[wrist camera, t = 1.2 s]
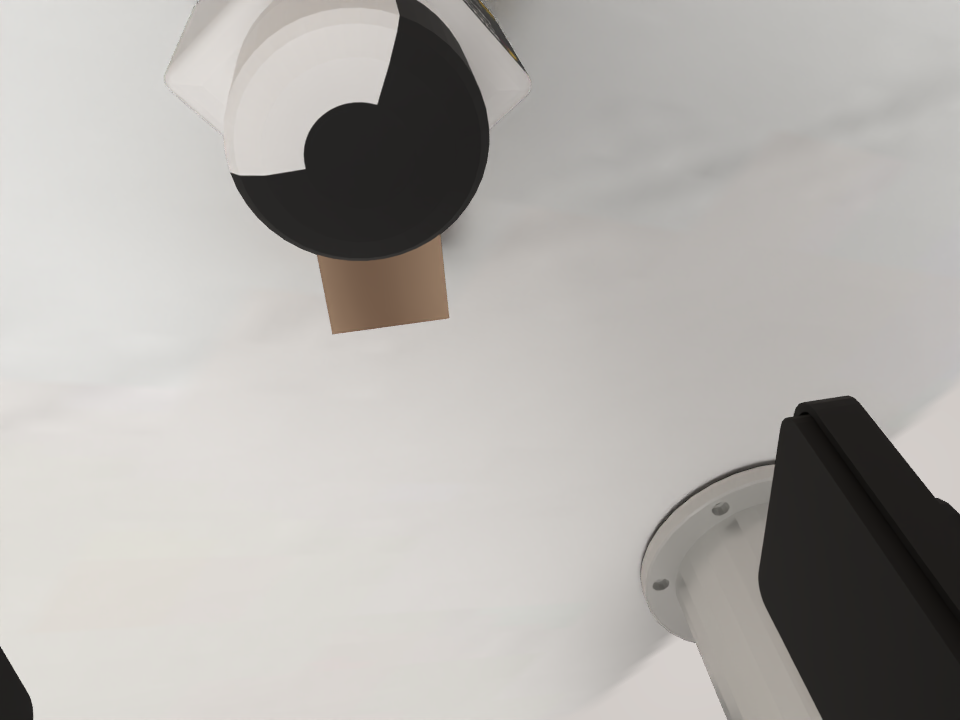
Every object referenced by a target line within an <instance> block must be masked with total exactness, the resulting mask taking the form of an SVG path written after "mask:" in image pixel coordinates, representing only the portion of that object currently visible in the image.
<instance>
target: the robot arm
mask: <svg viewBox="0 0 960 720" xmlns="http://www.w3.org/2000/svg"><path fill="white" fill-rule="evenodd" d="M641 583H642V589H643V594H644V596H645V599H646V601H647V604H648V606H649V609H650V611H651V613H652V614H653V616H654V617H655V619H656V620H657V621H658V623H659V624H660V625H661V626H663V627H664V628H665V629H666V630H668V631H669V632H670V633H672V634H674V635H676V636H678V637H680V638H682V639H684V640H687V641H690V642H694V643H696V644H697V647H698V649H699V652H700V654H701V656H702V659H703V661H704V664H705V666H706V669H707V671H708V674H709V676H710V679H711V681H712V683H713V686H714V688H715V690H716V693H717V696H718V698H719V700H720V703H721V705H722V708H723V710H724V712H725V715H726V717H727V720H960V514H959V513H958V512H957V511H956V510H955V509H954V508H953V507H952V506H951V505H949V503H947V502H945V501H943V500H941V499H939V498H935V497H934V496H933V495H932V493H931V492H930V491H929V490H928V489H927V487H926V486H925V485H924V483H923V482H922V481H921V480H920V478H919V477H918V476H917V475H916V473H915V472H914V471H913V469H912V468H911V467H910V466H909V464H908V463H907V462H906V461H905V459H904V458H903V457H902V456H901V454H900V453H899V452H898V451H897V449H896V448H895V447H894V446H893V444H892V443H891V442H890V441H889V439H888V438H887V437H886V436H885V434H884V433H883V432H882V431H881V429H880V428H879V427H878V426H877V424H876V423H875V422H874V421H873V419H872V418H871V417H870V415H869V414H868V413H867V412H866V410H865V409H864V408H863V407H862V405H861V404H860V403H859V402H858V401H857V400H856V399H855V398H853V397H851V396H842V397H835V398H829V399H822V400H816V401H809V402H803V403H800V404H799V405H798V406H797V407H796V409H795V413H794V416H793V417H788V418H785V419H784V420H783V421H782V424H781V428H780V434H779V441H778V447H777V454H776V461H775V464H773V465H767V466H760V467H756V468H753V469H750V470H746V471H743V472H740V473H736V474H734V475H732V476H729V477H727V478H725V479H723V480H720V481H718V482H716V483H714V484H712V485H710V486H709V487H707V488H705V489H704V490H702V491H700V492H699V493H697V494H695V495H694V496H692V497H691V498H690V499H689V500H687V501H686V502H685V503H684V504H683V505H681V506H680V507H679V508H678V509H676V510H675V511H674V512H673V513H672V514H671V515H670V516H669V518H668V519H667V520H666V521H665V522H664V523H663V524H662V525H661V527H660V528H659V529H658V531H657V532H656V534H655V535H654V537H653V539H652V540H651V542H650V544H649V545H648V548H647V551H646V553H645V556H644V559H643V562H642V570H641ZM0 720H33V707H32V702H31V699H30V696H29V694H28V693H27V691H26V689H25V687H24V686H23V684H22V682H21V681H20V679H19V677H18V676H17V674H16V672H15V671H14V669H13V667H12V665H11V664H10V662H9V660H8V659H7V657H6V655H5V654H4V652H3V650H2V649H1V647H0Z"/></svg>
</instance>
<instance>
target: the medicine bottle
mask: <svg viewBox="0 0 960 720" xmlns="http://www.w3.org/2000/svg"><path fill="white" fill-rule="evenodd" d="M164 81H165V84H166V86H167V87H168V89H169V90H170V91H171V92H172V93H173V94H175V95H176V96H177V97H178V98H179V99H180V100H181V101H183V102H184V103H185V104H186V105H187V106H188V107H190V108H191V109H192V110H193V111H194V112H195V113H197V114H198V115H199V116H200V117H201V118H202V119H204V120H205V121H206V122H207V123H208V124H209V125H210V126H212V127H213V128H214V129H215V130H216V131H217V132H219V133H220V134H221V135H222V136H223V138H224V147H225V155H226V159H227V163H228V166H229V170H230V173H231V175H232V178H233V180H234V182H235V185H236V187H237V189H238V191H239V192H240V194H241V196H242V197H243V199H244V201H245V202H246V204H247V205H248V206H249V208H250V209H251V210H252V211H253V213H254V214H255V215H256V216H257V217H258V218H259V219H260V220H261V221H262V222H263V223H264V224H265V225H266V226H267V227H268V228H269V229H270V230H272V231H273V232H274V233H276V234H277V235H279V236H280V237H281V238H283V239H284V240H286V241H288V242H290V243H291V244H293V245H295V246H297V247H299V248H301V249H303V250H306V251H309V252H311V253H314V254H316V255H320V256H324V257H328V258H332V259H339V260H347V261H371V260H379V259H386V258H390V257H394V256H398V255H401V254H404V253H407V252H409V251H412V250H414V249H417V248H419V247H420V246H422V245H424V244H426V243H428V242H430V241H431V240H433V239H434V238H436V237H437V236H438V235H440V234H441V233H442V232H444V231H445V230H446V229H447V228H448V227H449V226H450V225H452V224H453V223H454V222H455V221H456V220H457V219H458V217H459V216H460V215H461V214H462V213H463V211H464V210H465V209H466V208H467V206H468V205H469V203H470V201H471V200H472V198H473V196H474V195H475V193H476V191H477V189H478V187H479V184H480V182H481V180H482V177H483V174H484V170H485V167H486V163H487V158H488V150H489V130H490V129H491V128H492V127H493V126H494V125H495V124H496V123H497V122H499V121H500V120H501V119H502V118H503V117H504V116H505V115H506V114H507V113H508V112H510V111H511V110H512V109H513V108H514V107H515V106H516V105H517V104H518V103H519V102H521V101H522V100H523V99H524V98H525V97H526V96H527V95H528V93H529V92H530V90H531V80H530V78H529V76H528V74H527V72H526V71H525V69H524V67H523V66H522V64H521V62H520V61H519V59H518V57H517V56H516V54H515V52H514V51H513V49H512V47H511V45H510V44H509V42H508V40H507V39H506V37H505V35H504V34H503V32H502V30H501V29H500V27H499V25H498V24H497V22H496V20H495V19H494V17H493V15H492V14H491V13H490V12H489V11H488V10H487V8H486V7H485V6H484V5H483V4H482V3H481V1H480V0H200V1H199V2H198V3H197V4H196V5H195V7H194V8H193V10H192V12H191V15H190V17H189V19H188V21H187V24H186V26H185V28H184V31H183V33H182V35H181V37H180V40H179V42H178V44H177V47H176V49H175V51H174V53H173V56H172V58H171V60H170V63H169V65H168V67H167V69H166V72H165V74H164Z"/></svg>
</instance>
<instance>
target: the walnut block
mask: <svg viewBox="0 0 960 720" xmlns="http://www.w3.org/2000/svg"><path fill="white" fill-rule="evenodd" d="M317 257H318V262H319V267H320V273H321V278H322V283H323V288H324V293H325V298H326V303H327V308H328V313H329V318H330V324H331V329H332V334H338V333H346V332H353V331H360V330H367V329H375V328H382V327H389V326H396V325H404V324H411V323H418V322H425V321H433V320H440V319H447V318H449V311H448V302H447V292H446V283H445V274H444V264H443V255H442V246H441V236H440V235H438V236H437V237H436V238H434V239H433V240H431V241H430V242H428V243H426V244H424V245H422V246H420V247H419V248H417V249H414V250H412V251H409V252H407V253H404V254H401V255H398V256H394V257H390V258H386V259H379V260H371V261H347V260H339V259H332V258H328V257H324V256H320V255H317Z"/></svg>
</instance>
